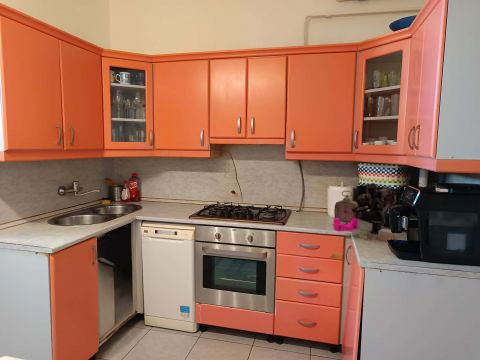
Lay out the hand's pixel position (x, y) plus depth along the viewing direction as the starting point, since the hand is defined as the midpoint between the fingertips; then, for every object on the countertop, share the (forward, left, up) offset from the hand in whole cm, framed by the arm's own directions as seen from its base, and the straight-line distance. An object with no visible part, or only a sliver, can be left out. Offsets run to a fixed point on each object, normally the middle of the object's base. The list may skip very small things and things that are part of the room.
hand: (362, 216), depth 183 cm
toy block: (-19, -17, -15) cm, 30 cm away
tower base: (-12, +10, -15) cm, 22 cm away
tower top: (-11, +10, -12) cm, 20 cm away
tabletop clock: (-29, -21, -15) cm, 39 cm away
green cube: (-7, -1, -14) cm, 16 cm away
